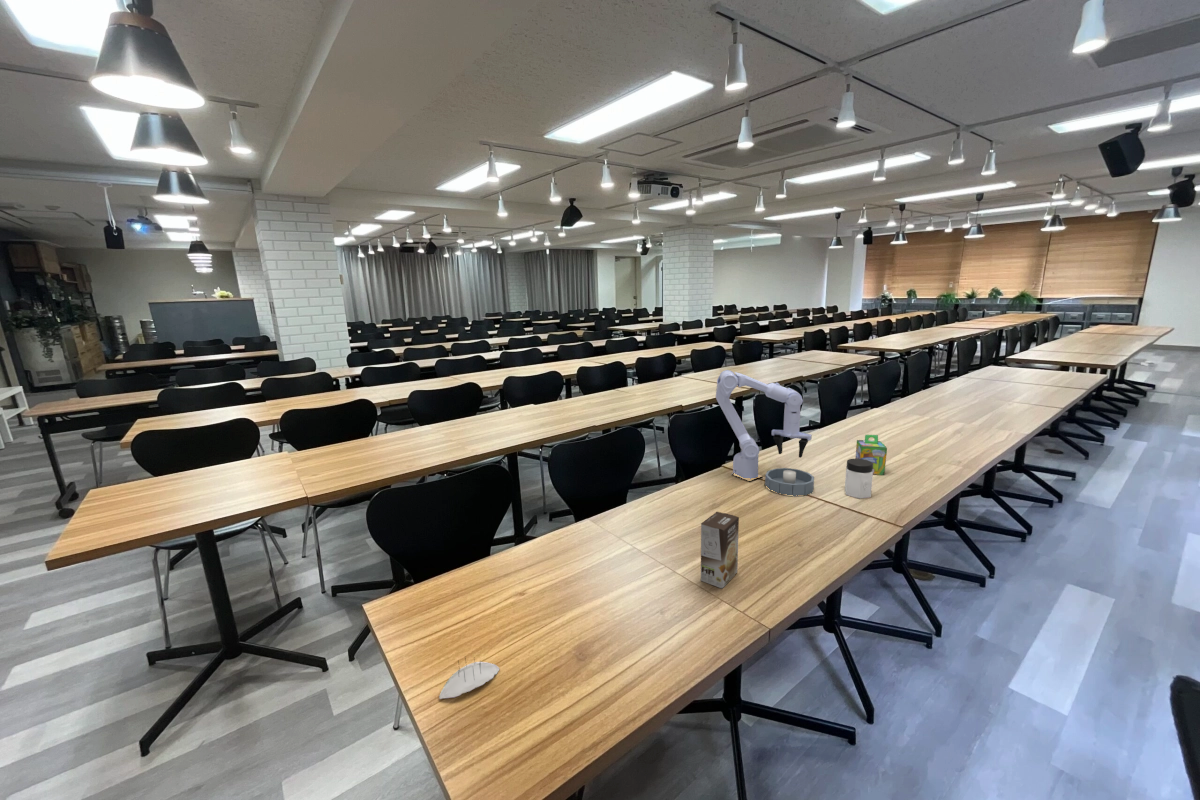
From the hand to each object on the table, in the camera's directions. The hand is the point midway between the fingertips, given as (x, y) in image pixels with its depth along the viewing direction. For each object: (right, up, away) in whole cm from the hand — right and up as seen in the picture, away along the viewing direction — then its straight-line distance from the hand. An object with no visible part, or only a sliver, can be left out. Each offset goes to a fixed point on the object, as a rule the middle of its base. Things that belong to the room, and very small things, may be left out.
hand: (790, 455), depth 183 cm
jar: (+18, -12, -15) cm, 27 cm away
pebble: (-3, -10, -7) cm, 13 cm away
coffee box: (-43, -25, -61) cm, 79 cm away
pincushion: (-100, -34, -92) cm, 140 cm away
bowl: (-3, -11, -7) cm, 14 cm away
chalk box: (+34, -7, +6) cm, 35 cm away
